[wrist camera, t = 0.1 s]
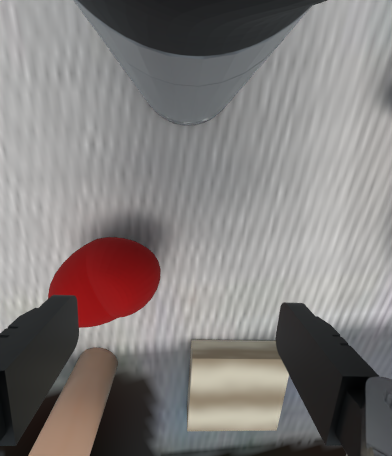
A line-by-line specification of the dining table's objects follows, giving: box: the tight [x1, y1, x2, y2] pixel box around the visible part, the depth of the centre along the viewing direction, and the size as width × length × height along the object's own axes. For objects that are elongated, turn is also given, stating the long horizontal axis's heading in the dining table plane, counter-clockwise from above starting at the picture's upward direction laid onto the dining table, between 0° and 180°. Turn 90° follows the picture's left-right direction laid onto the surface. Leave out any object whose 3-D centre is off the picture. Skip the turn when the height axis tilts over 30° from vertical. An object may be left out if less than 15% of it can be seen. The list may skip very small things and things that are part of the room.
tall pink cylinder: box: [29, 348, 118, 456], centre depth 26 cm, size 5×5×12 cm
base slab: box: [187, 340, 289, 431], centre depth 32 cm, size 12×12×3 cm
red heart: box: [48, 237, 160, 328], centre depth 22 cm, size 9×7×10 cm
